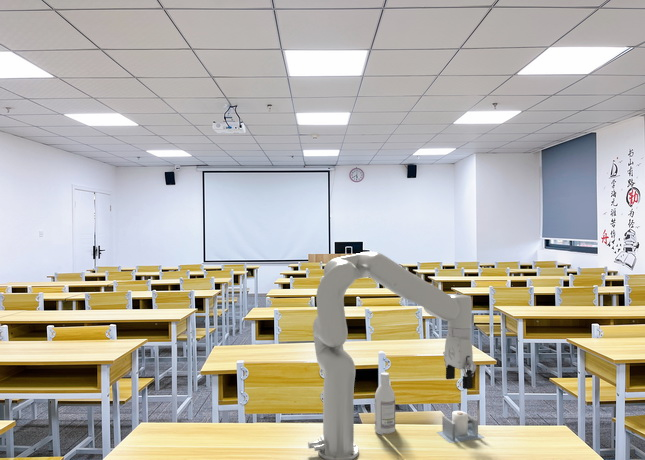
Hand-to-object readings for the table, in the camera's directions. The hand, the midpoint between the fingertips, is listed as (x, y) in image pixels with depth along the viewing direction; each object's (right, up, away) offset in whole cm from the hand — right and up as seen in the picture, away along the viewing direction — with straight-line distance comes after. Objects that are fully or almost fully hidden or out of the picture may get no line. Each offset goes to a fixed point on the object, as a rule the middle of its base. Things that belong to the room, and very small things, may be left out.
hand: (458, 383), depth 147 cm
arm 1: (-4, -17, -1) cm, 18 cm away
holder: (+1, -18, 0) cm, 18 cm away
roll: (0, -17, 0) cm, 17 cm away
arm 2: (+5, -17, +1) cm, 18 cm away
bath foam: (-24, -19, +5) cm, 31 cm away
